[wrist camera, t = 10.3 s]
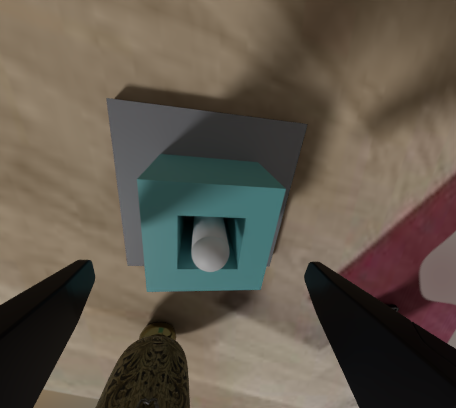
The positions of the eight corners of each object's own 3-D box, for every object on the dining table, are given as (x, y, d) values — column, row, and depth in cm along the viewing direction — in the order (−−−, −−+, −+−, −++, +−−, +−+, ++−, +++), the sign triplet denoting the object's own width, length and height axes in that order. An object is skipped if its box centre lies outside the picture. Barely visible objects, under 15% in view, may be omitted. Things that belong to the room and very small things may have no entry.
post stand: (300, 123, 14) (394, 136, 7) (266, 258, 19) (301, 341, 12) (113, 98, 12) (-2, 85, 5) (131, 257, 17) (85, 354, 10)
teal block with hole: (257, 162, 13) (285, 188, 9) (244, 239, 16) (260, 289, 12) (160, 153, 12) (136, 179, 8) (163, 237, 15) (146, 291, 11)
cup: (118, 347, 22) (78, 464, 15) (127, 302, 19) (81, 420, 12) (185, 351, 24) (178, 457, 16) (202, 311, 21) (202, 417, 14)
